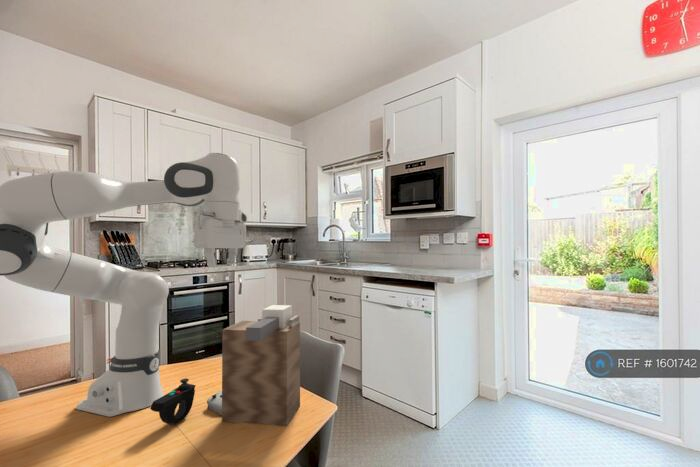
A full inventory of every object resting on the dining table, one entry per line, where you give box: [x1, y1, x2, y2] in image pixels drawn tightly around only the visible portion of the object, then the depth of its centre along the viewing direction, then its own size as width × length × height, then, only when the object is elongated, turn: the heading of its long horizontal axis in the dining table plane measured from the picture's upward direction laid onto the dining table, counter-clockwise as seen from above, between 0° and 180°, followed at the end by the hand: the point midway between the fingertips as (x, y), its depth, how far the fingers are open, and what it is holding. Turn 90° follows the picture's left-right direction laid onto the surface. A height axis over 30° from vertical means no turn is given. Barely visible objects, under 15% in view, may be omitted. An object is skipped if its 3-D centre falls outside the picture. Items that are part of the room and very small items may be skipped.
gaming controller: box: [206, 389, 222, 415], centre depth 97 cm, size 11×6×7 cm
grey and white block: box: [246, 304, 293, 341], centre depth 87 cm, size 6×19×5 cm, turn 171°
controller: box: [150, 377, 196, 425], centre depth 87 cm, size 4×12×10 cm, turn 164°
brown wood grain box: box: [221, 314, 301, 427], centre depth 92 cm, size 18×11×26 cm, turn 81°
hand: (221, 265), depth 88 cm, fingers open, 8 cm apart
